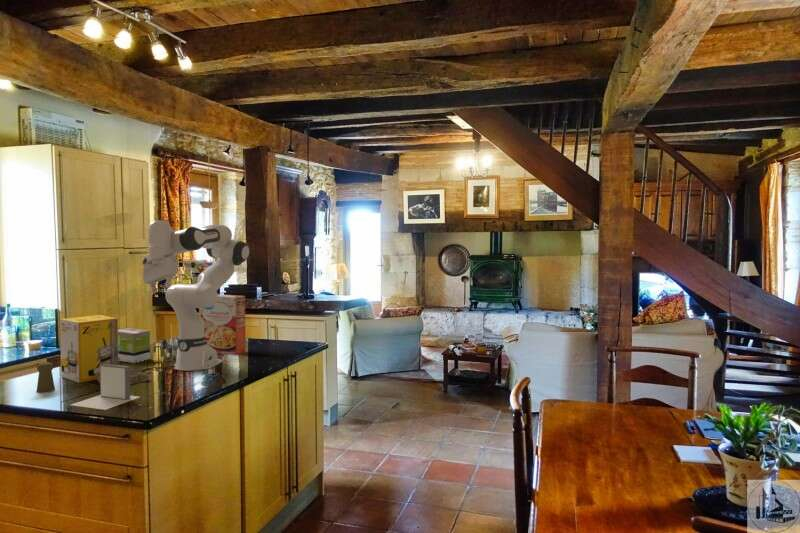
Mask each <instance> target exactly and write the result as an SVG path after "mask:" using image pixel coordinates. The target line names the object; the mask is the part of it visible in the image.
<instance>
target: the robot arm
mask: <svg viewBox="0 0 800 533" xmlns="http://www.w3.org/2000/svg"><path fill="white" fill-rule="evenodd" d="M147 232H148V233H147V242H148V253H147V254H146V255H145V257H144V258H143V259H142V261H141V265H142V266H143V268H142V281H143V283H144V284H145V285H149V287H150V289H151V293H152V294H156V293H158V291H159V289H158V287H157V283H158V282H162V281H164V280H166V281H165V282H164V288H165V289H166V291H165V296H164V297H165V300H166V302H167V303H168V304H169V305H170V306H171V308H172V309H173V310H174V312H175V315H176V319H177V323H178V338H177V346H178V348H177V350H176V359H175V360H176V361H175V363H174V367H175V370H178V371H186V372H187V371H191V372H192V371H200V370H209V369H212V368H214V367H215V366H218V365H220V364H221V363H223V359H220V358H218V353H216V350H215V349H213V348H212V347H210V346H209V345H208V344H207V341H206V340H208V341H209V340H210V338H211V337H210V336H206V337H205V336H204V320H203V318H202V317H201V316H199V312H197V309H199V308H208V307H212V306H214V305H215V303H216V302H217V299H218V295H219V294H218V290H219V289H220V288H221V287H222V286H224V285H225V284H226V283H227V282H228V281H229V280H230V279H231V278H232V276H233V275H234V273H235V266H236V267H238V266H239V267H240V266H241V265H242V263H245V261H247V260H248V259H249V256H250V255H251V254H250V253H251V251H250V250H251V249H250V246H249V244H248V243H246V241H245V242H244V241H242V240H236V239H234V238H233V239H232V237H233V234H232V233H233V232H232V230H231V228H229V227H228V226H227V225H222V224H210V225H205V226H203V227H200V228H199V227H197V226H189V227H187V228H184V229H181V230H177V231H176V230H174V229H173V227H171V225H170V221H169V220H166V219H158V220H155V221H152V222H150V223H149V225H148V231H147ZM202 248H203V249H205V250H206V254H207V255H208V256H209V257H211V258H213V259H217V260H216V261H215V262H214V263H212V264H211V265H209V266H208V267H207V268H206V269H204V270H203V271H202V272H200V273H199V274H198V276H197V282H196V283H183V282H181V283H175V284H171V283H172V282H173V277H174V276H176V275H178V273H179V262H178V258H177V257H176V256H177V255H181V254H184V253H188V252H189V253H190V252H192V251H193V252H194V251H197V250H198V251H199V250H200V249H202Z"/></svg>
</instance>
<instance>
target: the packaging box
mask: <svg viewBox="0 0 800 533" xmlns="http://www.w3.org/2000/svg"><path fill="white" fill-rule="evenodd" d="M118 330H119V318H117V317H112V316H107V315H102V314H97V315H87V316H79V317H78V316H77V317H67V318H60V319H59V335H60V337H59V338H60V339H59V340H60V342H59V343H60V344H59V345H60V376H61V378H64V379H67V380H70V381H73V382H76V383H77V384H78V383H85V382H90V381H95V380H96V381H97V377H98V376H99V374H100V365H102V364H111V365H120V364H119V362H120V361H119V353H118Z"/></svg>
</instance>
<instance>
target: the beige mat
mask: <svg viewBox="0 0 800 533" xmlns="http://www.w3.org/2000/svg"><path fill="white" fill-rule="evenodd" d="M139 398H140V396H137V395H136V396H135V395H130V399H128V400H123V399H115V398H107V397H101V394H99V395H95V396H92V397H89V398H87V399H84V400H81V401H78V402H74V403H71V404H70V406H73V407H80V408H88V409H96V410H102V411H103V410H104V411H106V410H109V409H111V408H114V407H117V406H119V405H122V404H126V403H128V402H131V401H133V400H137V399H139Z"/></svg>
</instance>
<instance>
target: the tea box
mask: <svg viewBox="0 0 800 533" xmlns="http://www.w3.org/2000/svg"><path fill="white" fill-rule="evenodd" d="M118 353H119V362H124V363H129V364H130V363H132V364H136V362H137V363H141V362H144V360H145V361H149V360H151V331H150V330H146V329H140V328H139V329H138V328H131V327H127V328H122V329H118ZM148 359H149V360H148ZM140 361H141V362H140Z"/></svg>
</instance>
